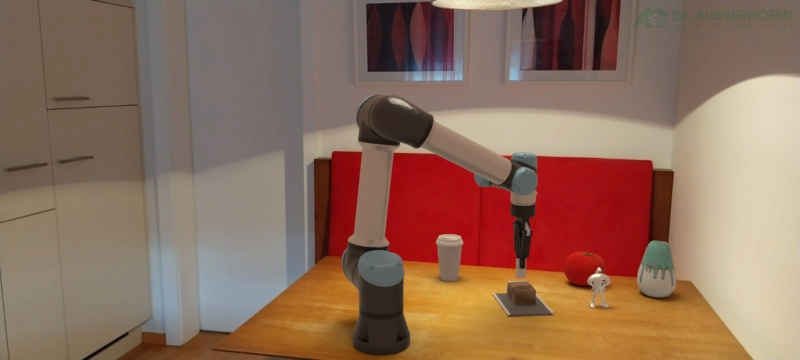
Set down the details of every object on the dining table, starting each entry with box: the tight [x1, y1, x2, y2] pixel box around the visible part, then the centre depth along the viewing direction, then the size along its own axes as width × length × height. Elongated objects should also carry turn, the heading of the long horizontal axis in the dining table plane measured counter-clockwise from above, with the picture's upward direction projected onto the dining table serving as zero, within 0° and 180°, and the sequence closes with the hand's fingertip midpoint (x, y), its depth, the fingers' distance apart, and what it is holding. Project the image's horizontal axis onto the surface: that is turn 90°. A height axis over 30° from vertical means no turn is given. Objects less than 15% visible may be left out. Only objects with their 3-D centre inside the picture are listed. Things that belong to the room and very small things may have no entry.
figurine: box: [587, 268, 611, 309], centre depth 180 cm, size 7×4×12 cm, turn 94°
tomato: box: [563, 251, 606, 287], centre depth 200 cm, size 12×14×11 cm
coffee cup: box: [435, 233, 464, 282], centre depth 206 cm, size 10×10×15 cm
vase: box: [636, 240, 677, 299], centre depth 190 cm, size 12×12×18 cm
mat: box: [492, 292, 555, 318], centre depth 182 cm, size 18×14×1 cm
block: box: [506, 280, 537, 305], centre depth 184 cm, size 5×7×9 cm
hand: (520, 277), depth 183 cm, fingers closed
